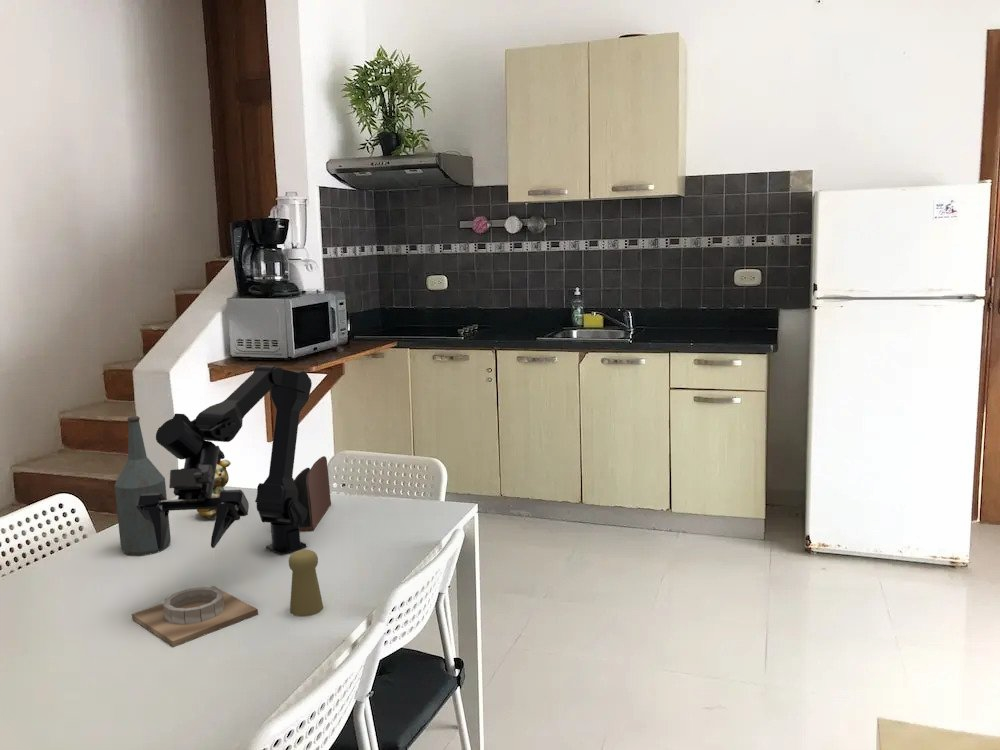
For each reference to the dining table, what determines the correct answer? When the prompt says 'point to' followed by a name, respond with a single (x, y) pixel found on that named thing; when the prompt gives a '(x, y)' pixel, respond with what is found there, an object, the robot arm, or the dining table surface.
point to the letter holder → (314, 493)
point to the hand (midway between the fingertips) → (186, 548)
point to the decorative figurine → (217, 487)
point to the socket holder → (193, 614)
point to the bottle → (137, 496)
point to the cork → (304, 584)
